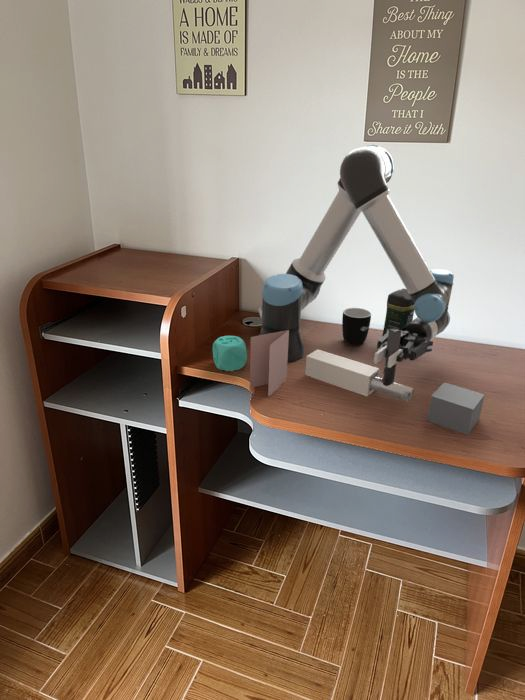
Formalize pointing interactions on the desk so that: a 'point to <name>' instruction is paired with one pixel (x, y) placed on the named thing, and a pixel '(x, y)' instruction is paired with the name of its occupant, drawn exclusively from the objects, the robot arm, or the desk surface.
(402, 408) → the desk surface
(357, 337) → the mug
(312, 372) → the elongated cream cuboid
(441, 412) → the socket block
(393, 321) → the coffee jar
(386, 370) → the slide bolt
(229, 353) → the decorative dice
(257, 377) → the greeting card
